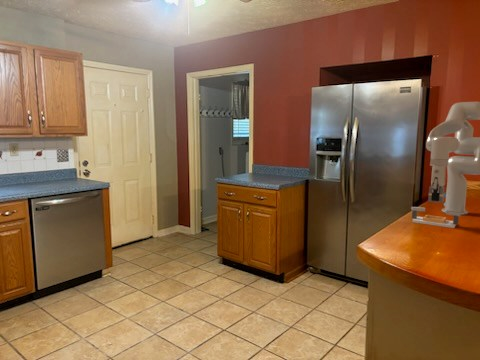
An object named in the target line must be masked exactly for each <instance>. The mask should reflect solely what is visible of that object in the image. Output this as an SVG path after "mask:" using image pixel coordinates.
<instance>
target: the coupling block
mask: <svg viewBox="0 0 480 360" xmlns="http://www.w3.org/2000/svg"><path fill="white" fill-rule="evenodd" d="M432 189H433V186H432V185H430V186H429V187H428V199H427V200H428V201H427V202H433V203H439V204H442V203H444V199H445V195H444V194H445V191H446V190H445V189H446V188H445V187H444V186H443V187H440V188H439V193H440V194H439V201H432V200H431V198H432Z"/></svg>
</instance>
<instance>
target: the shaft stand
mask: <svg viewBox="0 0 480 360" xmlns="http://www.w3.org/2000/svg"><path fill="white" fill-rule="evenodd" d="M411 211H412V212H411V213H412V215H411V219H412V221H411V222H412V223H416V224H422V225H423V224H424V225H429V226H436V227H444V228H451V229H455V228H456V227H457V225H458V224H459V219H460V217H461V216H462V215H461V213H460V212H454V211H448V210H447V211H446V213H445V215H448V216H453V219H452V220H447V217H446V216H437V215H431V214H425V215H424V216H418V212H426V207H419V206H411Z"/></svg>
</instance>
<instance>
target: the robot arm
mask: <svg viewBox="0 0 480 360" xmlns="http://www.w3.org/2000/svg"><path fill="white" fill-rule="evenodd" d="M475 120H476V121H479V120H480V101H461V102H455V103H453V105H451V107H450V109H449V111H448V113H447V116H446V118H445V121H443V122H442V123H439V124H438V125H437V126H435V127H434V128H432V130H430V132H429V134H428V136H427V139H426V141H425V149H427V151H429V152H430V162H429V166H430V167H431V168H432V169H431V181H430V183H431V184H430V186H433V189H432V198H431V200H432V201H439V194H440V193H439V188H440V187H444V186H445V185H446V190H445V191H446V192H445V193H446V198H445V202H446V203H445V202H444V203H445V204H444V203H443V206H444V207H443V208H441V212H442V213H445V214H446V211H447V210H448V211H454V212H460V213H461V216H462V215H463V216H464V215H468V214H469V211H467V210H466V201H467V200H466V199H467V188H468V180H467V178H466V177H465V176H464V175H475V176H477V175H480V136H478V137H476V136H475V137H474V136H473V135H474V130H475V129H474V127H473V125H472V124H471V123H470V122H469V121H475ZM451 134H454V136H447V135H451ZM450 153H454V154H457V155H453V156H450ZM463 155H465V156H463ZM466 155H467V156H466ZM469 155H473V156H469ZM449 156H450V157H449ZM446 170H447V178H446ZM446 179H447V181H446Z"/></svg>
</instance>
